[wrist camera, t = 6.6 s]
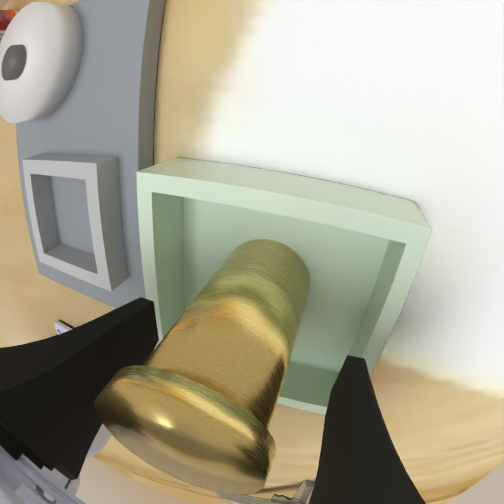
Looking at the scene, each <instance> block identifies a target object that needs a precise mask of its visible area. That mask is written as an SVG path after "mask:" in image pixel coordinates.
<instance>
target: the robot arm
mask: <svg viewBox="0 0 504 504" xmlns="http://www.w3.org/2000/svg"><path fill="white" fill-rule="evenodd" d="M54 325H55V328H56V331H57V333H58V335H56V336H53V337H50V338H47V339H43V340H39V341H35V342H31V343H27V344H23V345H18V346H12V347H5V348H0V504H86V503H84V502H83V501H81V500H80V499H78V498H77V497H75V494H76V492H77V490H78V487H79V484H80V476H79V474H80V471H81V468H82V466H83V463H84V461H85V459H86V458H89V457H92V456H94V455H96V454H98V453H99V452H100V451H101V450H102V449H103V447H104V446H105V444H106V443H107V442H108V440H109V439H110V437H111V436H112V434H111V433H110V432H109V431H108V430H107V428H106V427H105V426H104V425H103V423H102V422H101V420H100V419H99V417H98V415H97V413H96V410H95V407H94V402H95V399H96V398H97V396H98V395H99V394H100V393H101V391H102V390H103V389H104V388H105V387H106V385H107V384H108V383H109V382H110V380H111V379H112V378H113V377H114V376H115V374H116V373H117V372H118V371H119V370H120V369H122V368H124V367H127V366H134V365H141V366H142V365H143V363H144V362H145V361H146V359H147V358H148V357H149V356H150V354H151V353H152V352H153V350H154V348H155V346H156V345H157V343H158V341H159V337H158V330H157V322H156V315H155V307H154V301H151V300H148V299H145V298H142V297H140V298H138V299H135V300H133V301H131V302H129V303H127V304H125V305H123V306H121V307H119V308H117V309H115V310H113V311H111V312H109V313H107V314H105V315H103V316H101V317H98V318H96V319H94V320H92V321H90V322H88V323H85V324H83V325H81V326H79V327H76V328H74V329H72V328H70V327H68V326H66V325H65V324H63V323H61V322H59V321H56V322H55V323H54ZM308 504H426V503H425V501H424V500H423V499H422V497H421V495H420V494H419V492H418V490H417V489H416V487H415V485H414V484H413V482H412V480H411V479H410V477H409V476H408V474H407V472H406V470H405V468H404V466H403V464H402V462H401V460H400V458H399V456H398V454H397V452H396V450H395V447H394V445H393V443H392V440H391V438H390V435H389V433H388V430H387V428H386V425H385V423H384V420H383V417H382V414H381V411H380V408H379V405H378V402H377V399H376V396H375V393H374V389H373V386H372V383H371V379H370V375H369V372H368V368H367V364H366V361H365V359H364V358H360V357H355V356H350V355H347V357H346V359H345V361H344V364H343V366H342V368H341V370H340V373H339V375H338V377H337V379H336V381H335V383H334V386H333V388H332V390H331V393H330V398H329V402H328V406H327V411H326V415H325V423H324V431H323V438H322V446H321V453H320V460H319V466H318V471H317V476H316V480H315V484H314V487H313V491H312V494H311V497H310V500H309V503H308Z"/></svg>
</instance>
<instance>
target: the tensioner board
mask: <svg viewBox="0 0 504 504" xmlns="http://www.w3.org/2000/svg"><path fill="white" fill-rule="evenodd" d="M164 5H165V0H82V1H80V2H77V3H75V4H73V5H71V6H68V5H63V4H56V3H47V2H33V3H30V4H28V5H26V6H25V7H24V8H22V9H21V10H20V11H19V12H18V13H17V14H16V15H15V17H14V18H13V19H12V21H11V22H10V24H9V25H8V27H7V29H6V31H5V33H4V35H3V37H2V40H1V42H0V114H1V116H2V117H3V118H4V119H5V120H6V121H7V122H9V123H16V126H17V147H18V160H19V170H20V179H21V187H22V194H23V201H24V207H25V212H26V218H27V223H28V228H29V233H30V238H31V242H32V246H33V251H34V255H35V259H36V263H37V266H38V270H39V273H40V274H42V275H44V276H46V277H48V278H50V279H52V280H54V281H56V282H58V283H61V284H63V285H65V286H67V287H69V288H71V289H73V290H76V291H78V292H80V293H82V294H85V295H87V296H89V297H91V298H94V299H96V300H98V301H101V302H103V303H105V304H108V305H110V306H113V307H115V308H119V307H121V306H123V305H125V304H127V303H129V302H131V301H133V300H135V299H138V298H140V297H142V298H145V299H146V294H145V286H144V277H143V268H142V258H141V247H140V235H139V220H138V202H137V173H136V172H137V171H140V170H143V169H145V168H148V167H151V166H153V138H154V109H155V91H156V77H157V64H158V54H159V44H160V35H161V27H162V19H163V12H164Z"/></svg>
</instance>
